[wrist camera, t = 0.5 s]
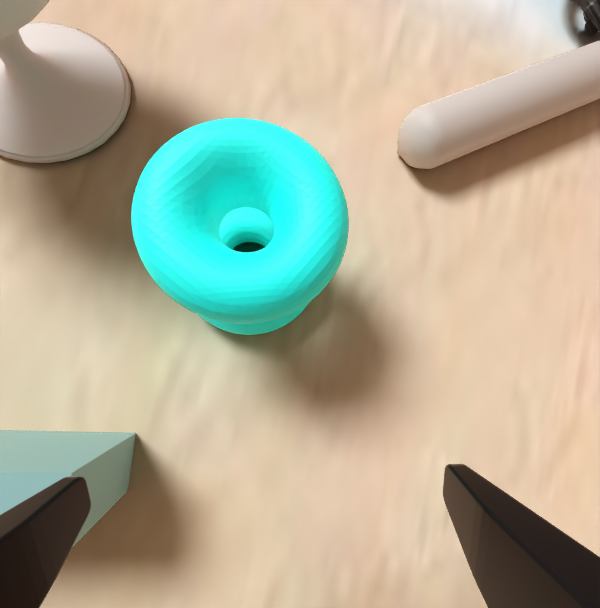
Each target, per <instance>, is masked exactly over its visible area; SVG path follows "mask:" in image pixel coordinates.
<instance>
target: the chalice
mask: <svg viewBox="0 0 600 608" xmlns="http://www.w3.org/2000/svg"><path fill="white" fill-rule="evenodd" d="M48 2H49V0H0V155H1V156H3V157H5V158H9V159H13V160H18V161H22V162H27V163H52V162H58V161H64V160H70V159H73V158H75V157H78V156H81V155H84V154H86V153H89V152H90V151H92V150H94V149H95V148H97V147H99V146H100V145H102V144H104V143H105V142H106V141H107V140H108V139H109V138H110V137H111V136H112V135H113V134H114V133H115V132H116V131H117V130H118V128H119V127H120V125H121V124H122V122H123V120H124V119H125V117H126V114H127V111H128V108H129V105H130V95H131V86H130V82H129V78H128V74H127V71H126V70H125V68H124V66H123V64H122V62H121V60H120V59H119V58H118V57H117V55H116V54H115V53H114V52H113V51H112V50H111V49H110V48H109V47H108V46H107V45H105V44H104V43H103V42H101V41H100V40H98V39H97V38H96V37H94V36H92V35H90V34H88V33H85V32H83V31H81V30H79V29H75V28H72V27H68V26H64V25H60V24H53V23H41V22H37V23H29V22H30V21H32V20H33V19H34V18H35V17H36V16H37V14H38V13H39V12H40V11H41V10H42V9H43V8H44V7H45V6H46V4H47V3H48Z"/></svg>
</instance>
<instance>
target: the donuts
mask: <svg viewBox="0 0 600 608" xmlns="http://www.w3.org/2000/svg"><path fill="white" fill-rule="evenodd" d="M131 223H132V232H133V237H134V241H135V244H136V248H137V251H138V253H139V256H140V258H141V260H142V262H143V264H144V266H145V268H146V270H147V271H148V273H149V274H150V276H151V277H152V279H153V280H154V281H155V282H156V284H157V285H158V286H159V287H160V288H161V289H162V290H163V291H164V292H165V293H166V294H167V295H168V296H170V297H171V298H172V299H173V300H175V301H176V302H177V303H179V304H180V305H182V306H183V307H185V308H187V309H188V310H190V311H192V312H194V313H196V314H198V315H199V316H200V317H201V318H203V319H204V320H205V321H207V322H208V323H210V324H211V325H213V326H215V327H217V328H219V329H222V330H224V331H227V332H231V333H236V334H243V335H255V334H263V333H267V332H271V331H274V330H277V329H279V328H281V327H283V326H285V325H287V324H288V323H290V322H291V321H293V320H294V319H295V318H296V317H297V316H299V315H300V314H301V313H302V312H303V310H304V309H305V308H306V307H307V305H308V304H309V302H311V301H312V300H313V299H314V298H315V297H316V296H317V295H319V294H320V293H321V291H322V290H323V289H324V288H325V287H326V286H327V285H328V283H329V282H330V281H331V279H332V278H333V276H334V275H335V273H336V271H337V269H338V268H339V265H340V263H341V261H342V258H343V256H344V252H345V249H346V244H347V238H348V227H349V220H348V209H347V204H346V200H345V196H344V193H343V190H342V188H341V185H340V183H339V181H338V179H337V177H336V175H335V173H334V172H333V170H332V169H331V167H330V166H329V164H328V163H327V161H326V160H325V159H324V158H323V157H322V155H321V154H320V153H319V152H318V151H317V150H316V149H315V148H314V147H313V146H311V145H310V144H309V143H308V142H306V141H305V140H304V139H302V138H301V137H299V136H298V135H296V134H294V133H293V132H291V131H289V130H287V129H284V128H282V127H280V126H277V125H274V124H271V123H268V122H265V121H260V120H255V119H246V118H226V119H218V120H212V121H208V122H205V123H201V124H198V125H195V126H193V127H191V128H189V129H187V130H185V131H183V132H181V133H179V134H177V135H176V136H174V137H173V138H171V139H170V140H169V141H168V142H166V143H165V144H164V145H163V146H162V147H161V148H160V149H159V150H158V151H157V152H156V153H155V154H154V155H153V157H152V158H151V159H150V161H149V162H148V164H147V165H146V167H145V168H144V170H143V172H142V174H141V176H140V178H139V181H138V184H137V187H136V190H135V193H134V197H133V203H132V211H131ZM245 242H255V243H258V244H261V245H263V246H264V247H265V248H263V249H261V250H259V251H255V252H246V253H244V252H238V251H235V250H233V248H235V247H236V246H237V245H239V244H241V243H245Z"/></svg>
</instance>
